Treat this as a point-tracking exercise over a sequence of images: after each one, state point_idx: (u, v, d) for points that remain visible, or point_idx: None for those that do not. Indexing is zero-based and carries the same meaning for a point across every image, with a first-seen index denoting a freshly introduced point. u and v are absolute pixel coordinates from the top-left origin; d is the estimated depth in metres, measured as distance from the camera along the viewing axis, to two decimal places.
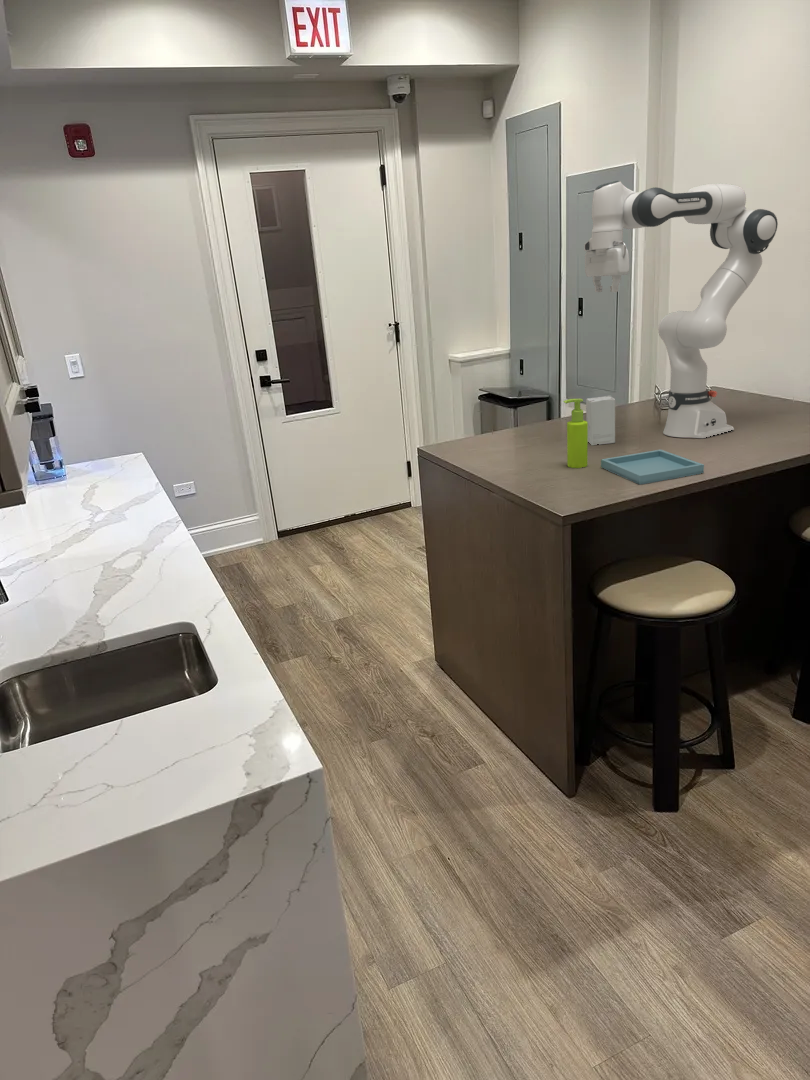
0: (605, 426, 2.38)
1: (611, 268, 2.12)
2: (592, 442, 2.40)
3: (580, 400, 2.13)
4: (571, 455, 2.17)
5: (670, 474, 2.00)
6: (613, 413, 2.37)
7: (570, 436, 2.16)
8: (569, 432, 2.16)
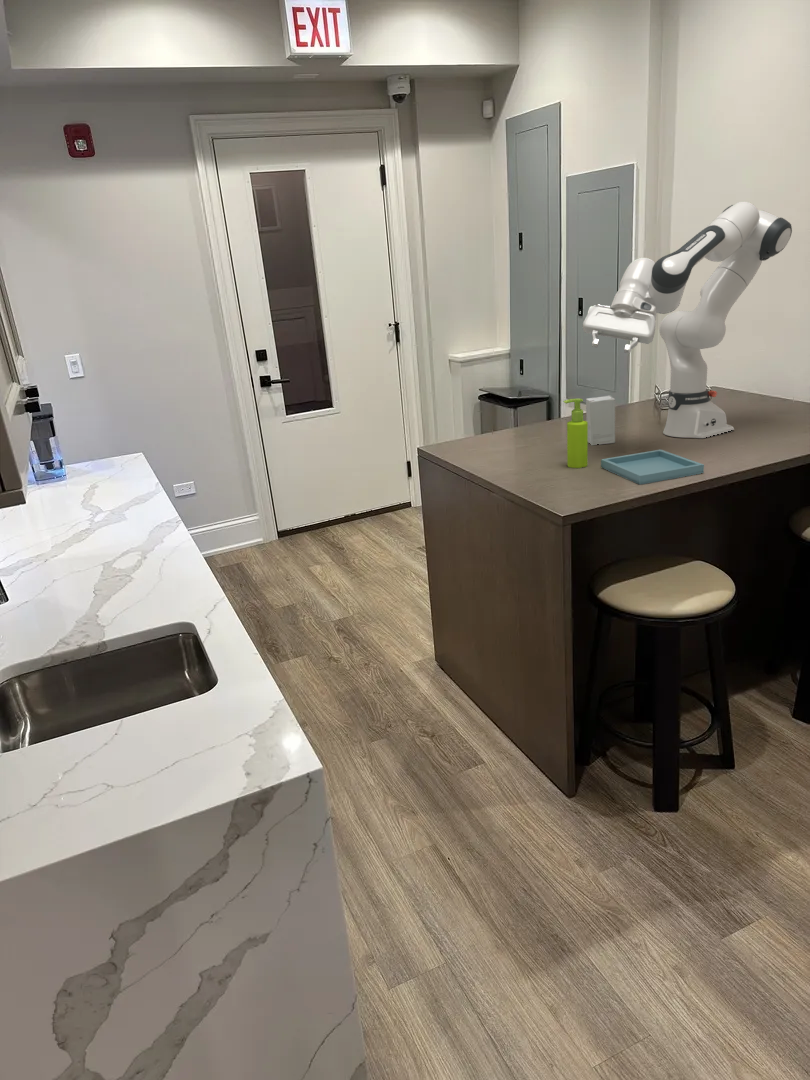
0: (605, 426, 2.38)
1: None
2: (592, 442, 2.40)
3: (580, 400, 2.13)
4: (571, 455, 2.17)
5: (670, 474, 2.00)
6: (613, 413, 2.37)
7: (570, 436, 2.16)
8: (569, 432, 2.16)
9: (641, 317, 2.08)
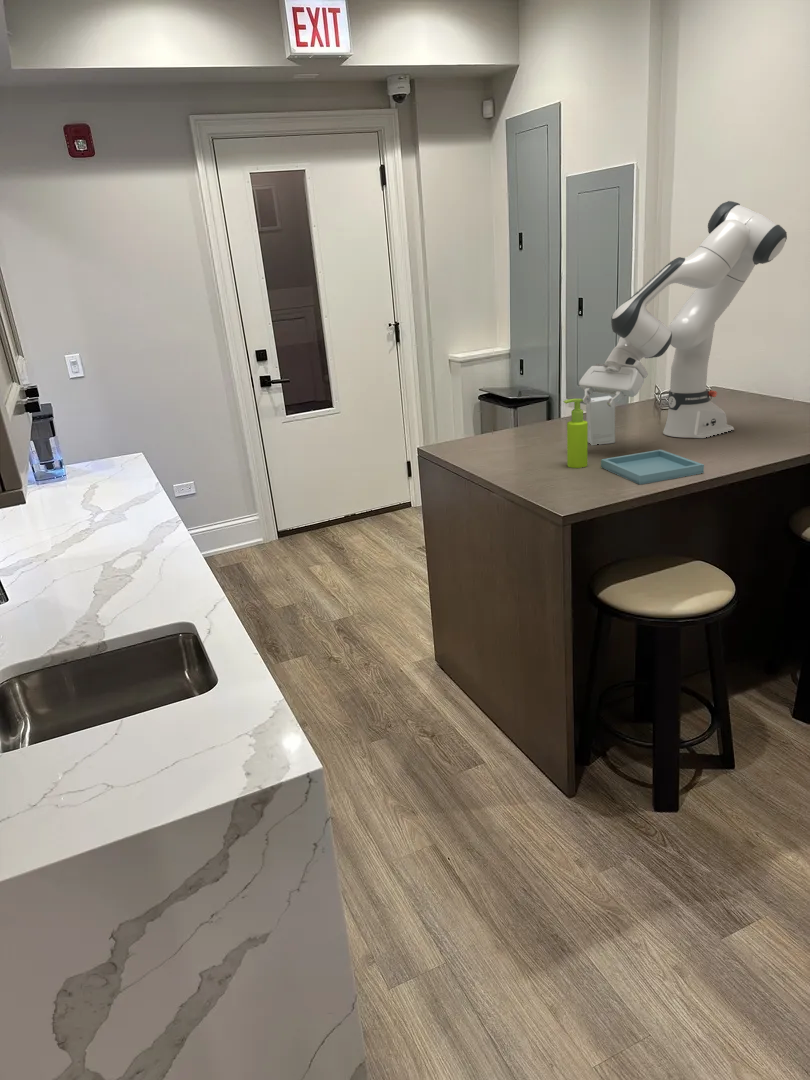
0: (605, 426, 2.38)
1: None
2: (592, 442, 2.40)
3: (580, 400, 2.13)
4: (571, 455, 2.17)
5: (670, 474, 2.00)
6: (613, 413, 2.37)
7: (570, 436, 2.16)
8: (569, 432, 2.16)
9: (626, 372, 2.13)
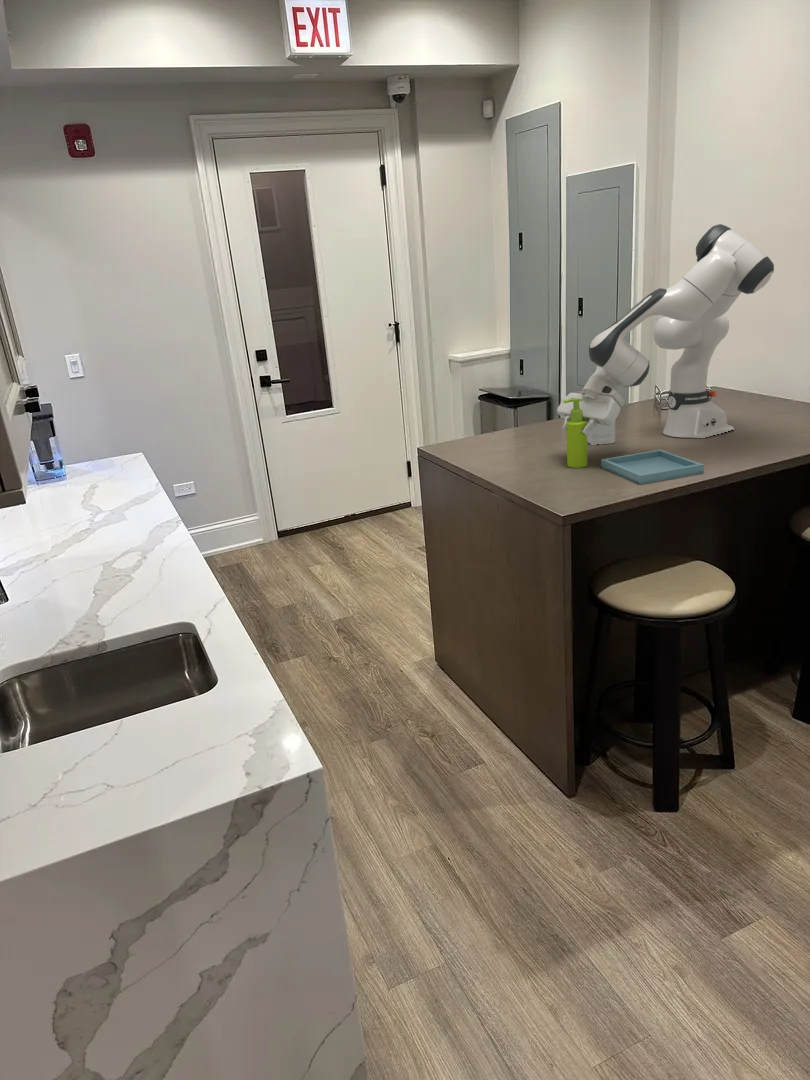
0: (605, 426, 2.38)
1: None
2: (592, 442, 2.40)
3: (579, 400, 2.13)
4: (571, 455, 2.17)
5: (670, 474, 2.00)
6: None
7: (570, 436, 2.16)
8: (568, 432, 2.16)
9: (603, 401, 2.12)
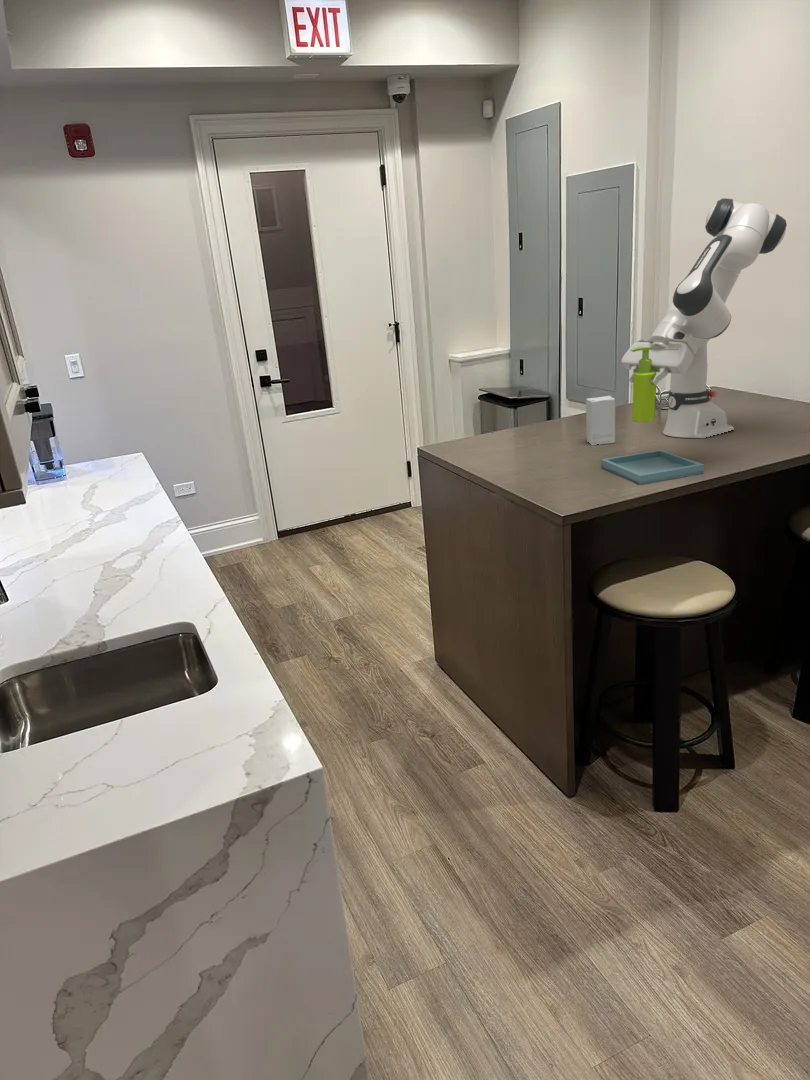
0: (605, 426, 2.38)
1: None
2: (592, 442, 2.40)
3: (649, 348, 1.98)
4: (638, 409, 2.03)
5: (670, 474, 2.00)
6: (613, 413, 2.37)
7: (637, 388, 2.01)
8: (636, 383, 2.01)
9: (675, 347, 1.97)
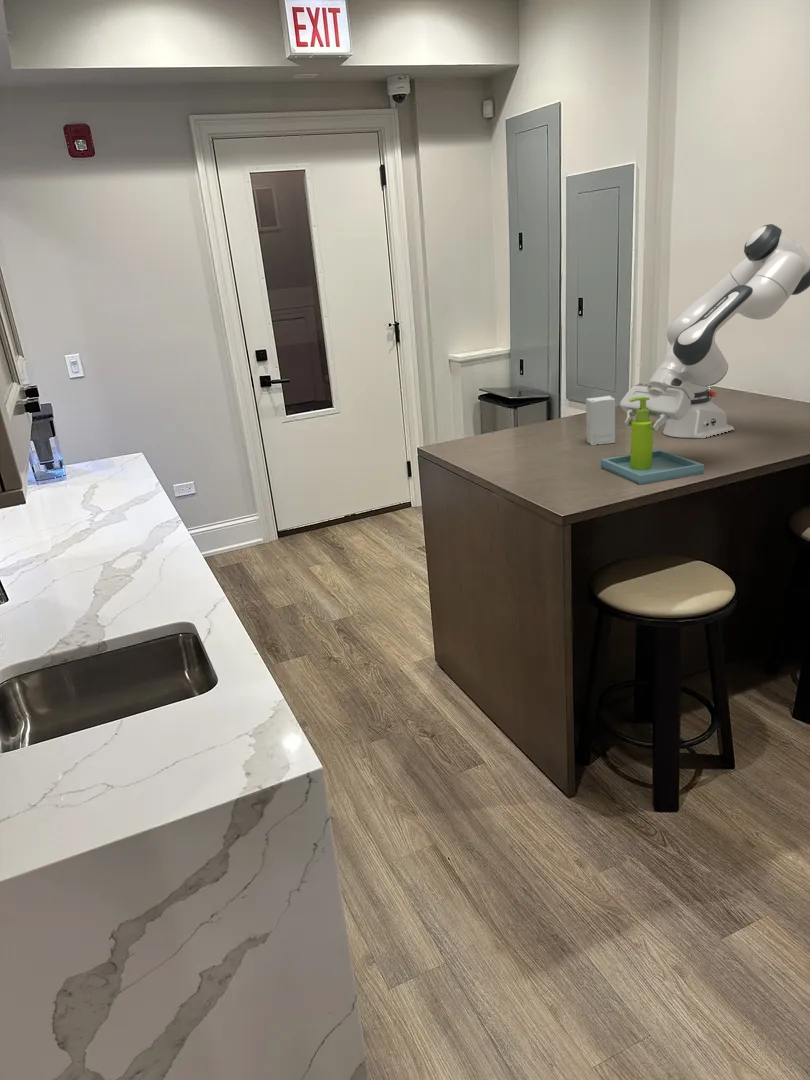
0: (605, 426, 2.38)
1: None
2: (592, 442, 2.40)
3: (646, 398, 2.03)
4: (636, 456, 2.08)
5: (670, 474, 2.00)
6: (613, 413, 2.37)
7: (635, 436, 2.06)
8: (634, 432, 2.06)
9: (672, 394, 2.01)
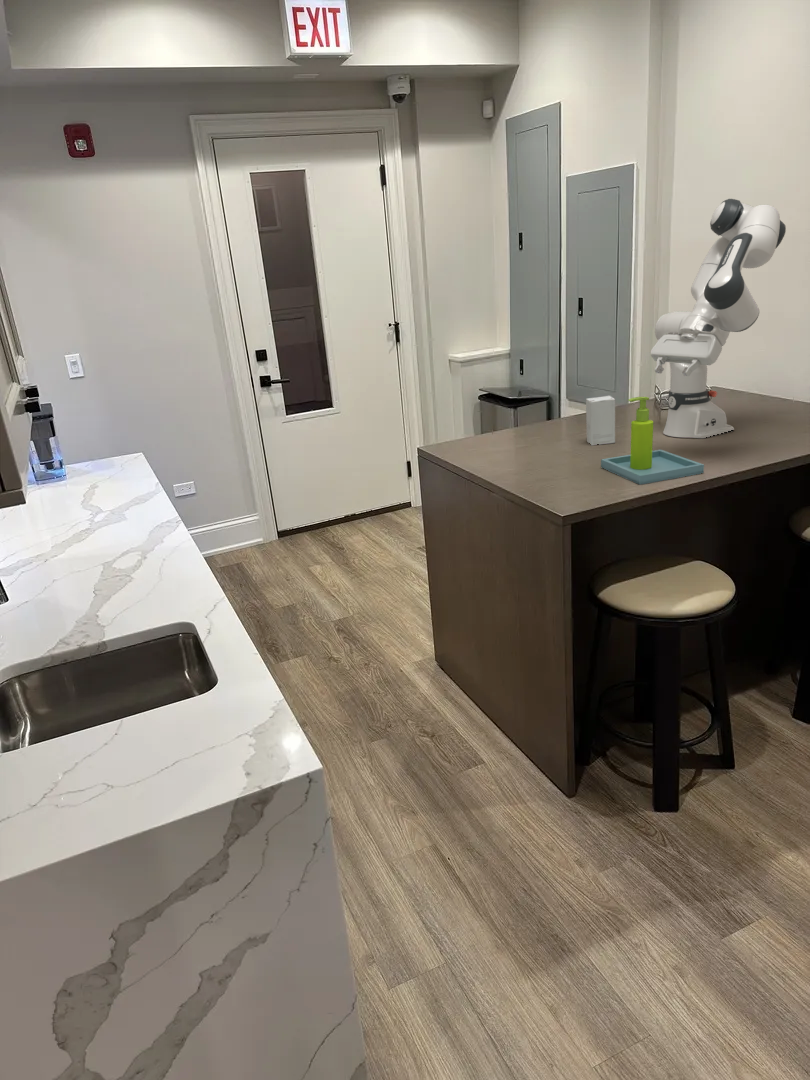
0: (605, 426, 2.38)
1: None
2: (592, 442, 2.40)
3: (646, 398, 2.03)
4: (636, 456, 2.08)
5: (670, 474, 2.00)
6: (613, 413, 2.37)
7: (635, 436, 2.06)
8: (633, 432, 2.06)
9: (703, 339, 2.03)
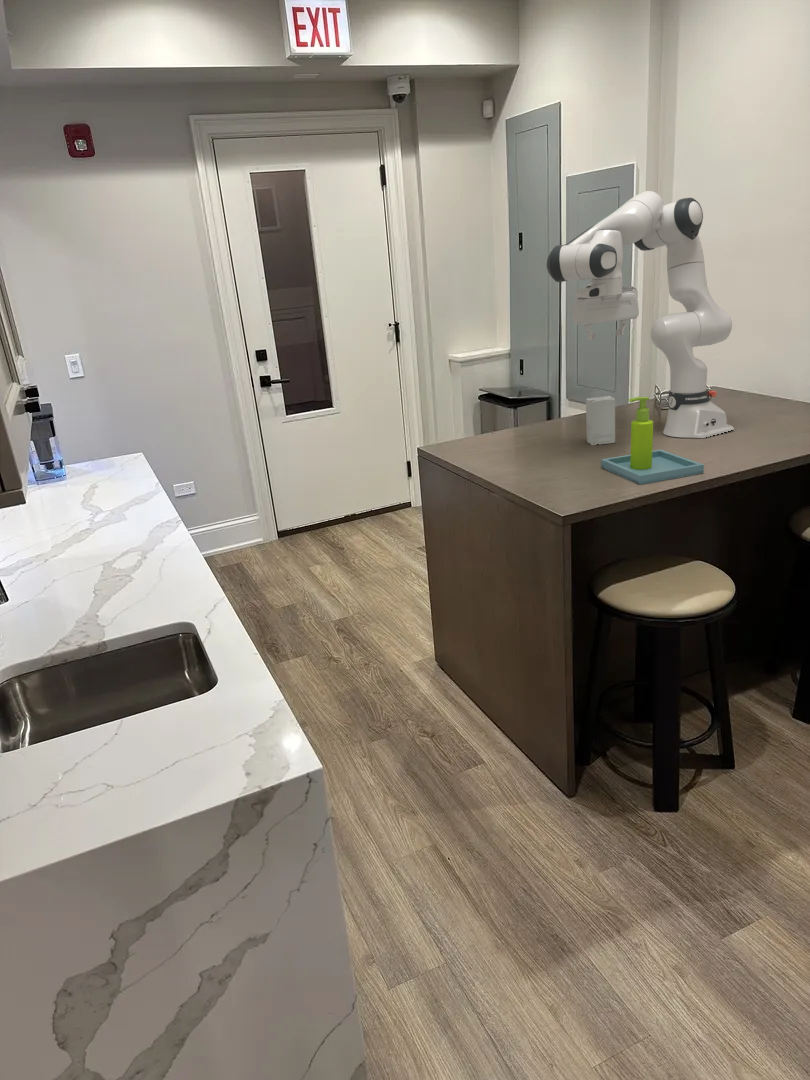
0: (605, 426, 2.38)
1: (627, 312, 2.17)
2: (592, 442, 2.40)
3: (646, 398, 2.03)
4: (636, 456, 2.08)
5: (670, 474, 2.00)
6: (613, 413, 2.37)
7: (635, 436, 2.06)
8: (634, 432, 2.06)
9: None
